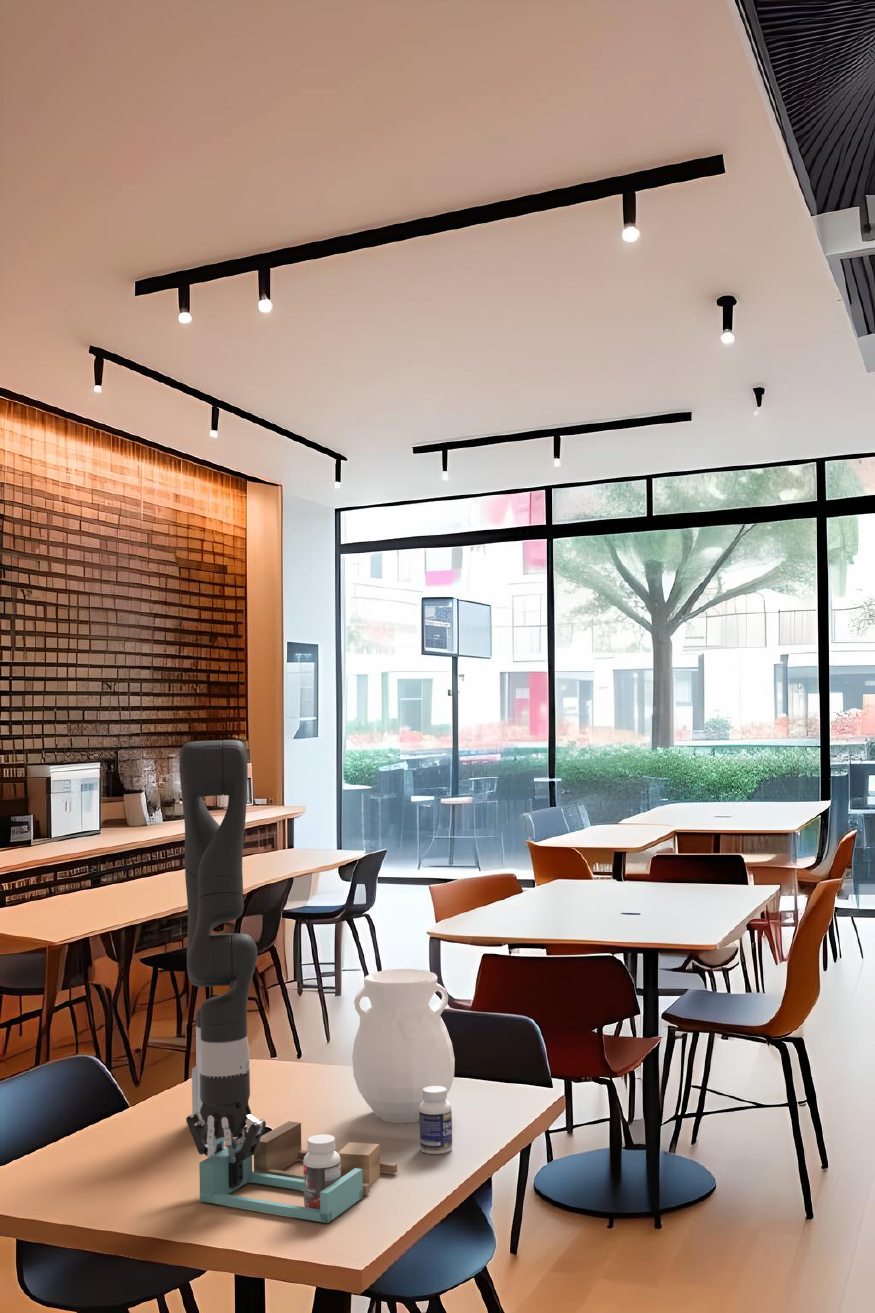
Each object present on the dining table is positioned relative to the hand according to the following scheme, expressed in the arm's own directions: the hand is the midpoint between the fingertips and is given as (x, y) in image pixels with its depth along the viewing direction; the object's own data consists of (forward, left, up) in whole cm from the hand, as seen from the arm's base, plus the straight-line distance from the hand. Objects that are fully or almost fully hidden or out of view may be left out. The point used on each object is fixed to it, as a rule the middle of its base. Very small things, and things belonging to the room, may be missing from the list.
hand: (226, 1184), depth 172 cm
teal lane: (+10, 0, -1) cm, 10 cm away
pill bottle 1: (+17, 0, -1) cm, 17 cm away
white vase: (+9, +42, -1) cm, 43 cm away
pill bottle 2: (+22, +28, -1) cm, 36 cm away
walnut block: (+17, +11, -1) cm, 20 cm away
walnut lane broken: (+11, +11, -1) cm, 15 cm away
